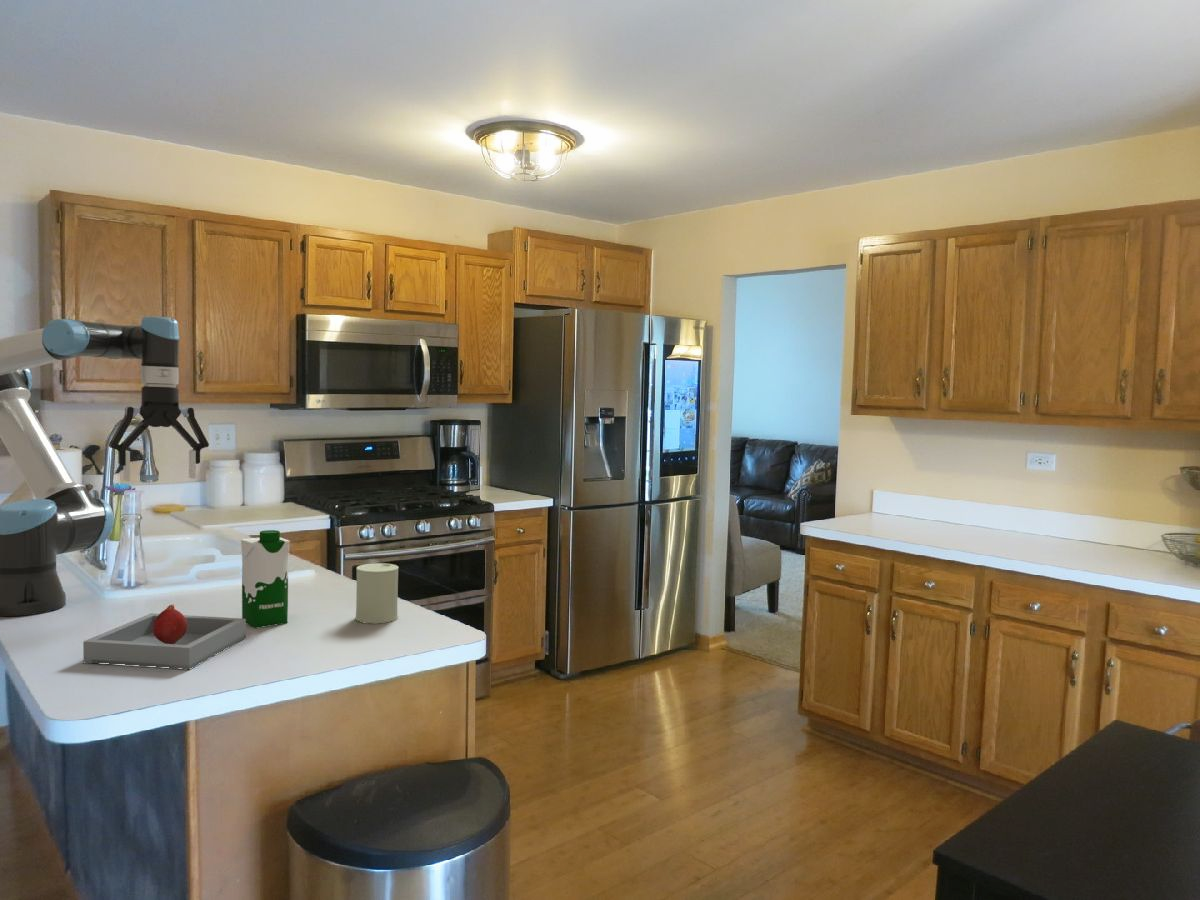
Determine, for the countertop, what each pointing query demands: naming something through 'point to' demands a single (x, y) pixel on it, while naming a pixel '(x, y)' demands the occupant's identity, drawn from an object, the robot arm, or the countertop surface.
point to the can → (377, 593)
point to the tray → (145, 649)
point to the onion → (169, 625)
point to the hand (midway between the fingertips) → (160, 479)
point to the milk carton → (265, 579)
